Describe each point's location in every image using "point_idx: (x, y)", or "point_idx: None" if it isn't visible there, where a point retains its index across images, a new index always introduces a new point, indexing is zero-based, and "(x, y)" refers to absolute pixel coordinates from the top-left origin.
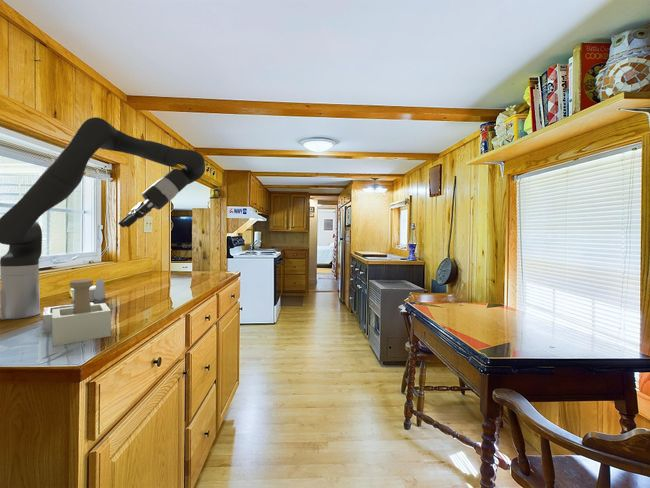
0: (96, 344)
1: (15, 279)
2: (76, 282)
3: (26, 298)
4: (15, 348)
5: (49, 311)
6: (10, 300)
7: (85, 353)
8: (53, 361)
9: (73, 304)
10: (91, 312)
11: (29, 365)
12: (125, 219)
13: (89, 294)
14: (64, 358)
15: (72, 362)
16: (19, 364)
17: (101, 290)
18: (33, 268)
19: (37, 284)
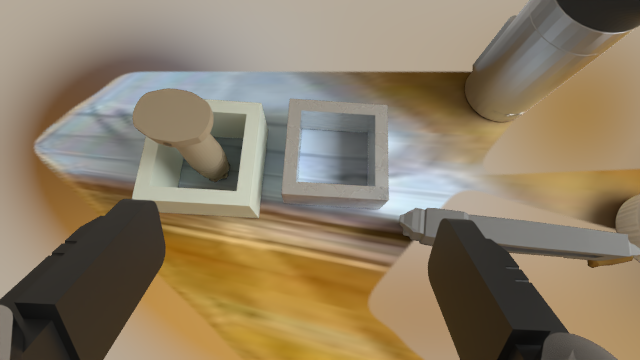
0: (124, 181)
1: (521, 17)
2: (143, 99)
3: (491, 73)
4: (216, 82)
5: (328, 110)
6: (490, 49)
7: (85, 159)
8: (87, 119)
9: (386, 158)
10: (148, 161)
11: (99, 94)
12: (476, 297)
13: (632, 229)
14: (88, 132)
15: (55, 139)
16: (117, 84)
17: (493, 234)
18: (563, 29)
19: (536, 74)
